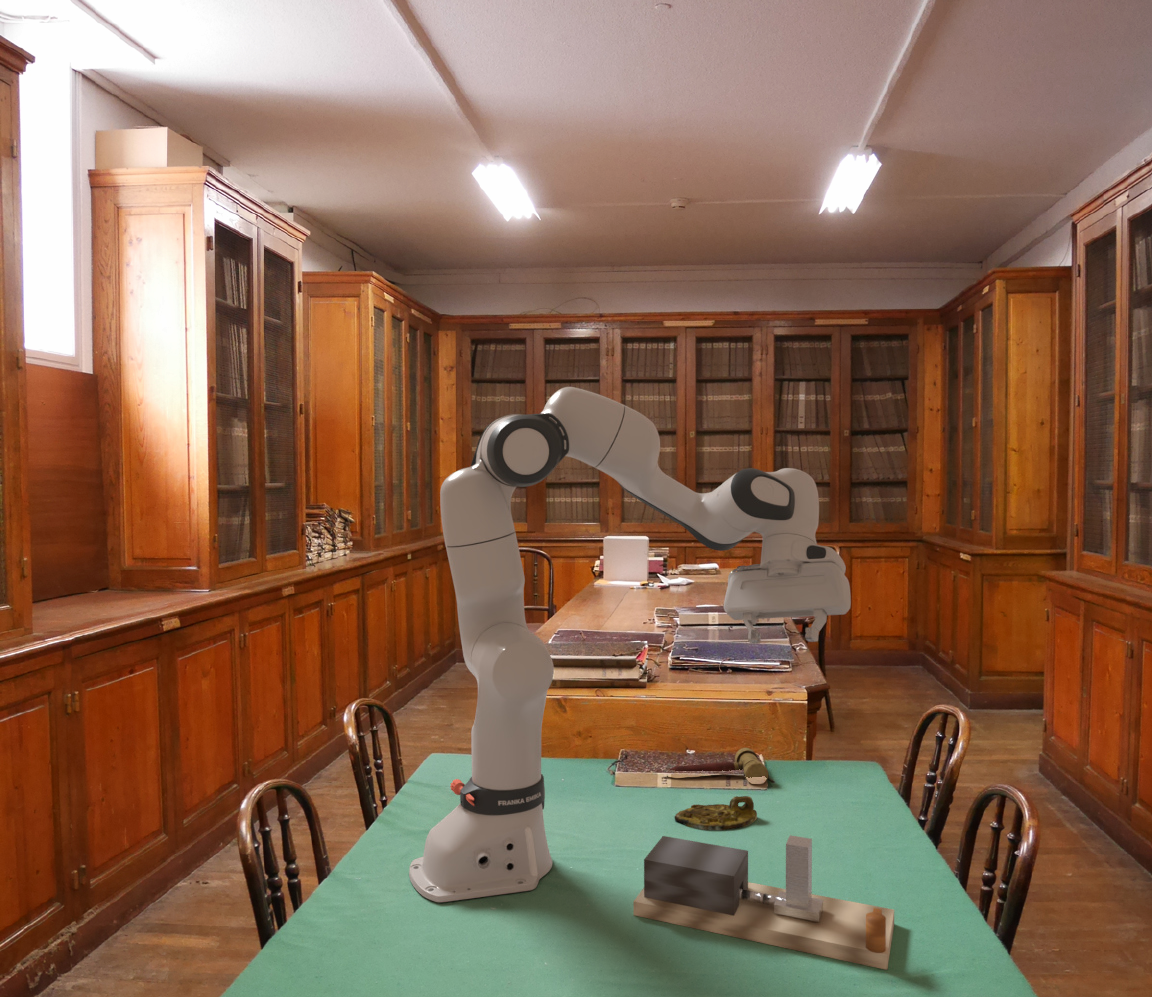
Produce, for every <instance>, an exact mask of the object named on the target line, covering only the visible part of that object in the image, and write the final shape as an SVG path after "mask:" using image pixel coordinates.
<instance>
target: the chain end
mask: <svg viewBox="0 0 1152 997" xmlns="http://www.w3.org/2000/svg"><path fill="white" fill-rule="evenodd" d="M812 861H813V838H809V837H804V836H803V837H802V836H797V835H796V836H795V835H792V834H790V835H789V837H788V839H787V841H786V843H785V889H786V892H781V891H780V892H779V894H778V896H775V895H770V894H765V893H764V894H763V893H760V892H755V891H749V890H744V889H743V890H742V889H739V899H742V900H745V901H750V902H755V903H760V904H765V905H770V906H774V913H776V914H781V915H786V916H791V917H796V918H801V919H806V920H811V921H816V922H819V920H820V917H821V914H822V911H823V899H818V898H812V894H813V888H812V887H813V885H812V884H813V882H812V878H813V876H812V875H813V874H812V872H813V871H812V870H813V866H812V865H813V862H812Z"/></svg>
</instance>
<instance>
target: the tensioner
mask: <svg viewBox="0 0 1152 997" xmlns="http://www.w3.org/2000/svg"><path fill="white" fill-rule="evenodd" d="M739 889H742V890H743V889H744V890H749V891H755V892H760V893H763V894H764V893H765V894H770V895H775V896H778V894H779V892H780V891H781V892H786V888H781V887H776V886H770V885H765V884H759V883H755V882H749V850H748V849H747V850H746V849H742V848H741V849H739V848H735V847H729V846H723V845H719V844H712V843H707V842H700V841H695V840H689V839H683V838H677V837H672V836H666V835H663V836H662V837H661V838H660V839H659V840H658V841H657V843H655V845H654V846H653V848H652V849H651V850H650V851H649V853H648V854H647V855H646V857H645V858H644V859H643V888H642V889H641V891H640V892H639V893H638V894H637V895H636V898H635V899H634V900H633V916H634V917H635V916H636V917H641V918H644V919H650V920H653V921H659V922H664V923H669V924H673V925H676V926H677V925H678V926H682V927H686V928H691V929H695V930H700V931H705V932H711V933H715V934H719V935H724V936H728V937H733V938H737V939H743V940H747V941H753V942H757V943H760V944H766V945H770V946H776V947H780V948H784V949H788V950H792V951H799V952H802V953H808V954H813V955H817V956H821V957H825V958H829V959H830V958H831V959H835V960H840V961H845V962H849V963H854V964H859V965H862V966H867V967H873V968H878V969H882V970H886V971H887V970H888V967H889V961H890V955H891V948H892V942H893V934H894V930H895V929H894V927H895V909H893V908H887V907H881V906H876V905H871V904H867V903H861V902H856V901H850V900H846V899H845V900H844V899H841V898H840V899H839V898H834V897H829V896H824V895H818V894H813V893H812V898H818V899H823V911H822V914H821V917H820V920H819V922H816V921H811V920H806V919H801V918H796V917H791V916H786V915H781V914H776V913H774V906H770V905H765V904H760V903H755V902H750V901H745V900H742V899H739Z"/></svg>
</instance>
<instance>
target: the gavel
mask: <svg viewBox="0 0 1152 997" xmlns="http://www.w3.org/2000/svg"><path fill="white" fill-rule="evenodd" d="M669 769H670V770H675V771H702V770H703V771H722V770H723V771H729V770H730V771H731V770H739V769H740V770H742V769H743V770H744V772H743V775H744V774H745V776H746V777H748V778H750V777H751V778H752V777H762V776H765V777H766V778H767V779H768V778H769V770H768V768H767V767H766V765H765V764H764V763H763V762H762V761H760V760H759V757H758V755H757V753H756V752H755V751H754V750H753V749H752V748H749V747H742V748H740V749H739V750H737V751H736V753H735V755H734V762H733V761H732V762H730V761H723V762H721V761H720V762H711V763H701V764H699V763H698V764H689V765H687V764H686V765H678V766H673V767H671V768H669ZM745 776H744V777H745Z"/></svg>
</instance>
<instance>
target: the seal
mask: <svg viewBox="0 0 1152 997" xmlns="http://www.w3.org/2000/svg"><path fill="white" fill-rule="evenodd" d="M739 803H744V804H743V805H739ZM754 803H755V802H754V801H753V799H752V797H751V796H747V795H742V796H737V795H736V796H733V797H732V798H731V799H730V801H729V804H725V803H724V804H719V803H717V804H716V803H715V804H705V805H704V804H703V805H702V804H693V805H691V806H690V807H689V808H688V807H687V808H686V809H683V810H680V811H678V812H677V813H676V814H675V815H674V817H673V818H674V820H675V822H679V823H681V824H683V825H685V827H687V828H691V829H696V830H701V831H727V830H728V831H729V830H736V829H740V828H745V827H747V826H750V825H751V824H753V823H755V822H756V820H757V819H758V812H757V810H756V809H755V806H754Z"/></svg>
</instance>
